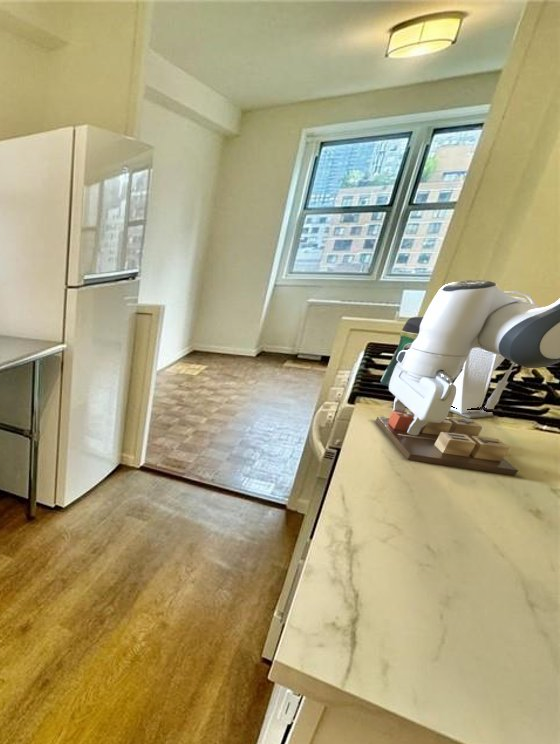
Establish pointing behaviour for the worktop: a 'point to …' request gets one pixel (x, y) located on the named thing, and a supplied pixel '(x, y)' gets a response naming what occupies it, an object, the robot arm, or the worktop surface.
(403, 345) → the coffee jar
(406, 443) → the board
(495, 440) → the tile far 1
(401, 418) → the red toy block
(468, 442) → the tile
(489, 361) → the skyscraper
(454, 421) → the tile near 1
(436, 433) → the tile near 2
